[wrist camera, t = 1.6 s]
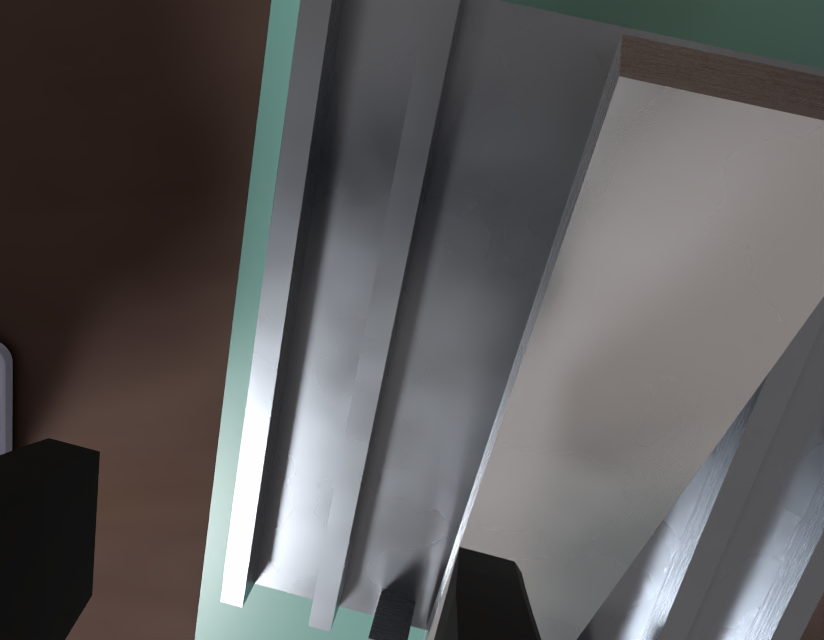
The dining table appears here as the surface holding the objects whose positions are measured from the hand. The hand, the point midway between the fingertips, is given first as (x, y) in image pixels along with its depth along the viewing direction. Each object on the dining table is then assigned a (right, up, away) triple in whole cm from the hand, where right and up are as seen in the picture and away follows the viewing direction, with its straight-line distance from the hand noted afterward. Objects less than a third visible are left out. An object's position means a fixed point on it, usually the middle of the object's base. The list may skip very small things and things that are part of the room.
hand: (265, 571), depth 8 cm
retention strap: (+4, 0, +3) cm, 5 cm away
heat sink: (+5, +4, +8) cm, 10 cm away
